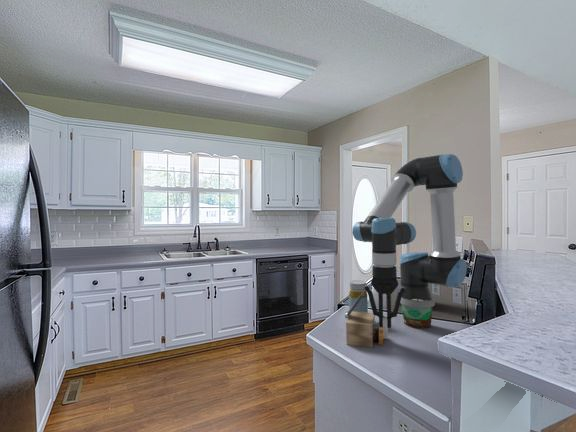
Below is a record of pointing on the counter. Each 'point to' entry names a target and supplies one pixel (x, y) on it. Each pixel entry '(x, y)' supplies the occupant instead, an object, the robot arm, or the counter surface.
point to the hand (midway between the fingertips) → (385, 336)
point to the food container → (417, 312)
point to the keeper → (354, 305)
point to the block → (360, 329)
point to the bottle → (355, 292)
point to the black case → (378, 335)
